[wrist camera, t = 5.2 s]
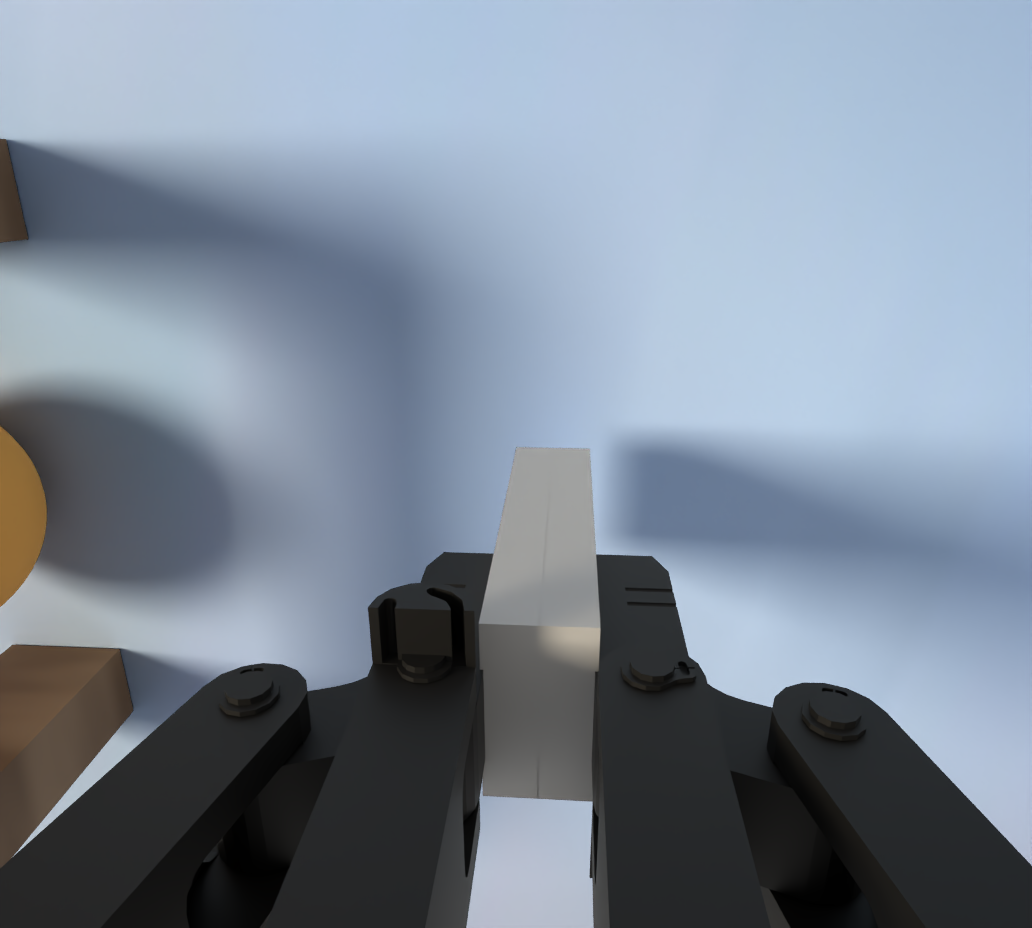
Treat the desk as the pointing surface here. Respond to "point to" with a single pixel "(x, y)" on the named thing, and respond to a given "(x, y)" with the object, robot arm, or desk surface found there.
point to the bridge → (48, 682)
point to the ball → (19, 515)
